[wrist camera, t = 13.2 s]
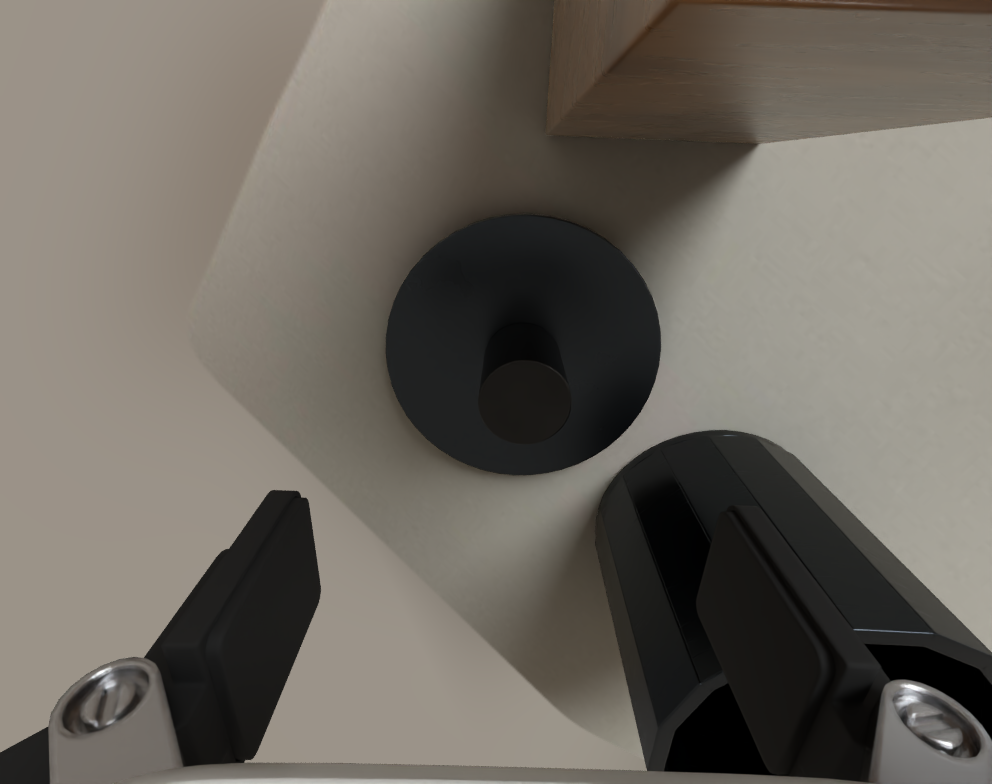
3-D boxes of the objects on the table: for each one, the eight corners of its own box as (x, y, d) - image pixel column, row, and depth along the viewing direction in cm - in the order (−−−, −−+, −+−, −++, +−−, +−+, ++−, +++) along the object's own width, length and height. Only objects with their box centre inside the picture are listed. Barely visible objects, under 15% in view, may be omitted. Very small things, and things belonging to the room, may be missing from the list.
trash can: (584, 598, 31) (627, 847, 20) (609, 424, 26) (686, 621, 15) (780, 607, 31) (939, 864, 20) (842, 434, 26) (1103, 641, 15)
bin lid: (396, 458, 27) (367, 532, 22) (383, 206, 22) (340, 218, 17) (633, 468, 27) (665, 546, 22) (676, 218, 22) (734, 234, 16)
